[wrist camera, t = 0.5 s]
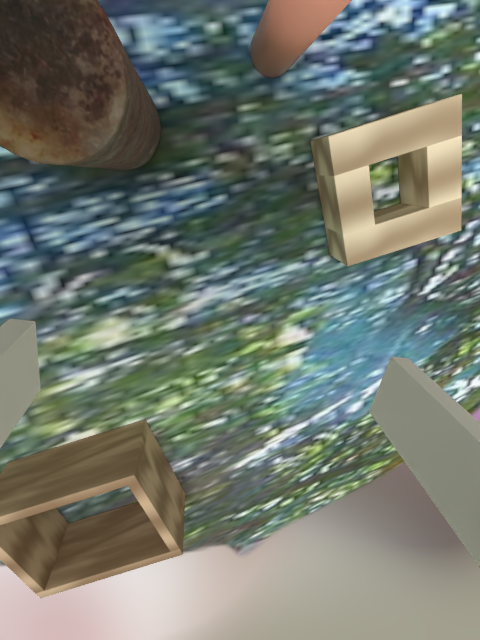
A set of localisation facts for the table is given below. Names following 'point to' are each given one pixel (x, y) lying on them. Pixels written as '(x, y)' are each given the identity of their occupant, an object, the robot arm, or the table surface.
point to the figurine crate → (96, 531)
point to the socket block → (414, 181)
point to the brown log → (71, 88)
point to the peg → (289, 32)
